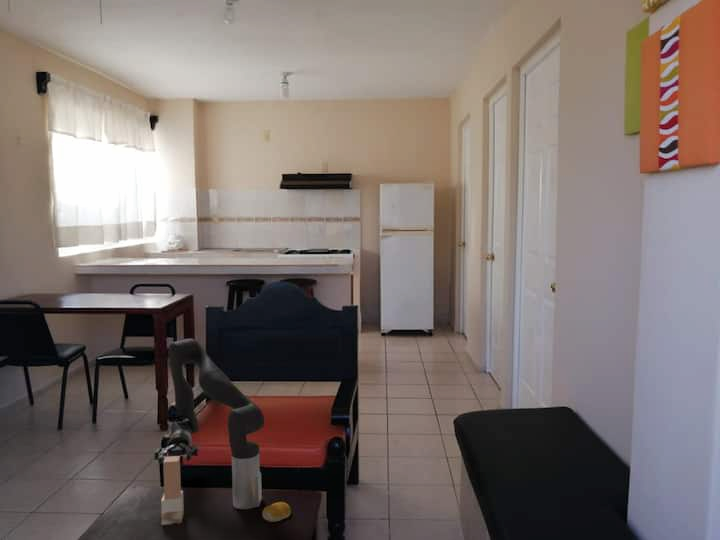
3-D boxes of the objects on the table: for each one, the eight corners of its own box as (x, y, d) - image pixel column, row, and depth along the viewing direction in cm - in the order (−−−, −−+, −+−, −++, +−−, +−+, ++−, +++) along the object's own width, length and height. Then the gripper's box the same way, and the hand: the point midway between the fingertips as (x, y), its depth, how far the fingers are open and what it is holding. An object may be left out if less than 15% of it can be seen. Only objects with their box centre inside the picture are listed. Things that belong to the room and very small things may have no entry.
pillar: (180, 491, 184) (179, 455, 184) (179, 497, 180) (178, 461, 179) (166, 493, 184) (165, 457, 183) (164, 499, 179) (163, 462, 178)
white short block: (183, 502, 186) (183, 490, 185) (181, 510, 180) (181, 498, 180) (164, 504, 184) (163, 492, 184) (161, 512, 179) (161, 500, 178)
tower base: (183, 514, 186) (183, 502, 186) (181, 523, 180) (180, 511, 180) (164, 516, 185) (164, 504, 184) (161, 525, 179) (161, 512, 179)
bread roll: (295, 514, 184) (295, 502, 184) (274, 525, 178) (273, 512, 178) (279, 506, 190) (279, 495, 190) (257, 516, 183) (257, 504, 183)
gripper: (159, 434, 204) (151, 450, 188) (200, 430, 207) (196, 446, 191) (159, 454, 204) (152, 472, 188) (200, 451, 207) (196, 468, 191)
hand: (174, 459), depth 190 cm, fingers open, 8 cm apart
